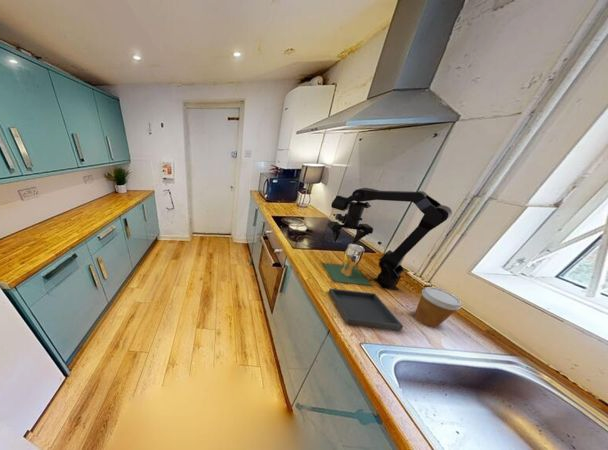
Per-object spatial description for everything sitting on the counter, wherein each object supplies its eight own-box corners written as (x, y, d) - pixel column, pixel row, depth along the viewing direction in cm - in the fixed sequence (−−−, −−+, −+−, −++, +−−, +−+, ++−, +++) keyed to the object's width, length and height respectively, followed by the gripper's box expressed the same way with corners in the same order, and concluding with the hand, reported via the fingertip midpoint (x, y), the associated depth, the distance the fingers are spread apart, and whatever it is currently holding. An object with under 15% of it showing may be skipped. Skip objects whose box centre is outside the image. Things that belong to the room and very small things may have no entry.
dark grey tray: (372, 297, 83) (374, 293, 82) (400, 331, 68) (403, 326, 67) (328, 292, 85) (329, 288, 84) (346, 324, 71) (348, 319, 69)
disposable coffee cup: (449, 336, 67) (469, 311, 62) (412, 323, 72) (428, 298, 67) (438, 316, 74) (456, 292, 70) (405, 306, 79) (419, 282, 74)
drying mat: (355, 267, 102) (355, 266, 102) (371, 285, 89) (371, 285, 89) (322, 264, 104) (322, 263, 104) (334, 281, 91) (334, 281, 91)
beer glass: (357, 279, 93) (368, 252, 87) (340, 276, 94) (351, 250, 88) (350, 270, 99) (360, 244, 93) (335, 268, 100) (344, 242, 94)
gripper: (365, 209, 101) (355, 236, 108) (327, 207, 103) (319, 233, 110) (379, 217, 91) (367, 246, 98) (336, 214, 93) (327, 243, 100)
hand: (344, 242), depth 101 cm, fingers open, 9 cm apart
